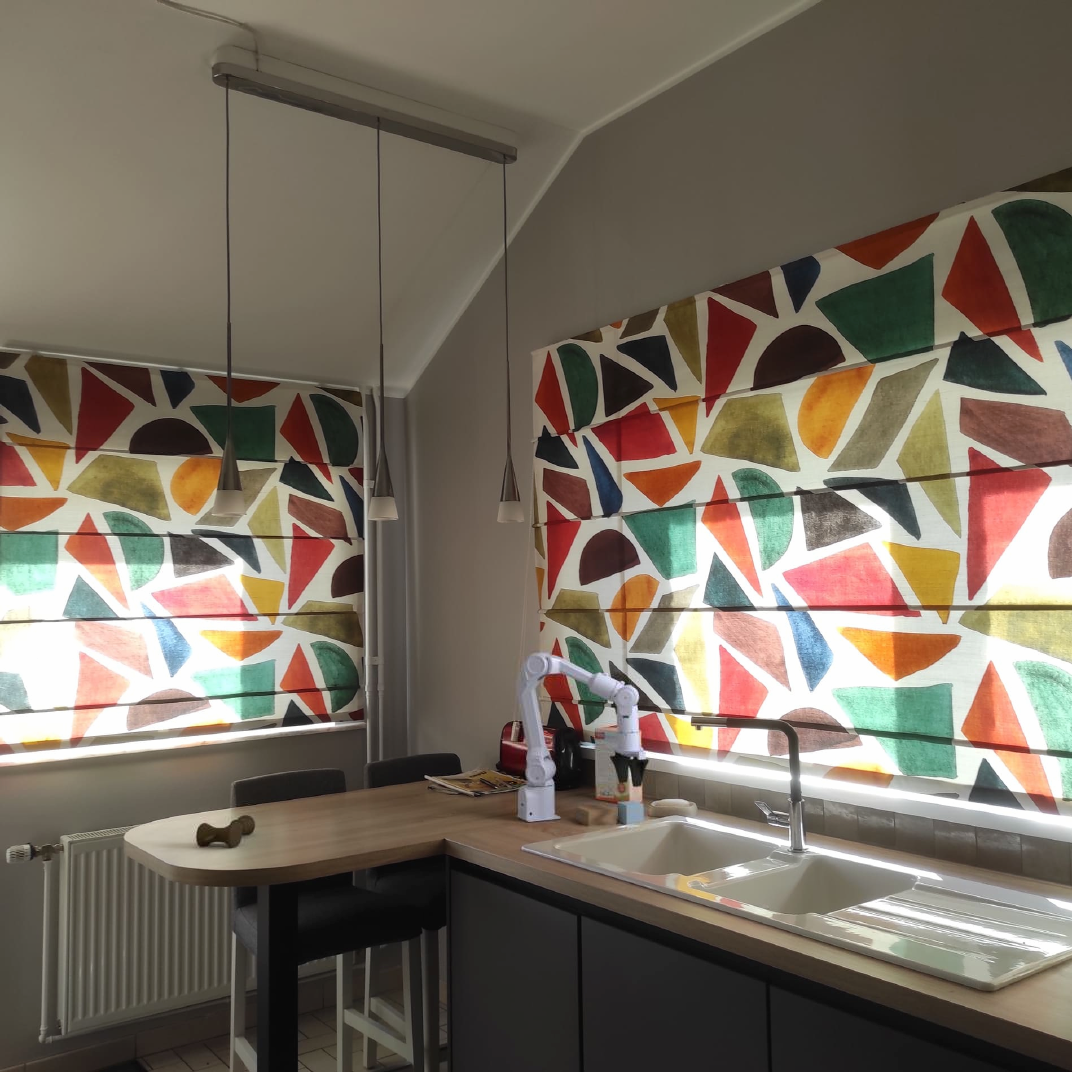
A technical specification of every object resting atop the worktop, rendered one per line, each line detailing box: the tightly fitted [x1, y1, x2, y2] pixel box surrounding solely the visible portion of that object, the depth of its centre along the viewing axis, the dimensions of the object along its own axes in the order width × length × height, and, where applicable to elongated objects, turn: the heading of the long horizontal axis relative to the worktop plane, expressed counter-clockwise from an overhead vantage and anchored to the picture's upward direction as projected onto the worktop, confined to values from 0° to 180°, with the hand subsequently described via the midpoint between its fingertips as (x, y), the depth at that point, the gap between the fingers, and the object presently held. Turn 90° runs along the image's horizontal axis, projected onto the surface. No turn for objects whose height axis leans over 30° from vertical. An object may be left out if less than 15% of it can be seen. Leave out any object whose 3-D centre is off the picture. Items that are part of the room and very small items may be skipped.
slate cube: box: [616, 801, 645, 825], centre depth 259 cm, size 5×5×5 cm
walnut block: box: [575, 803, 618, 827], centre depth 259 cm, size 8×8×4 cm
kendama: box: [195, 814, 256, 849], centre depth 240 cm, size 6×10×20 cm
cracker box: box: [594, 726, 644, 804], centre depth 288 cm, size 14×6×21 cm, turn 41°
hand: (630, 784), depth 260 cm, fingers open, 7 cm apart
